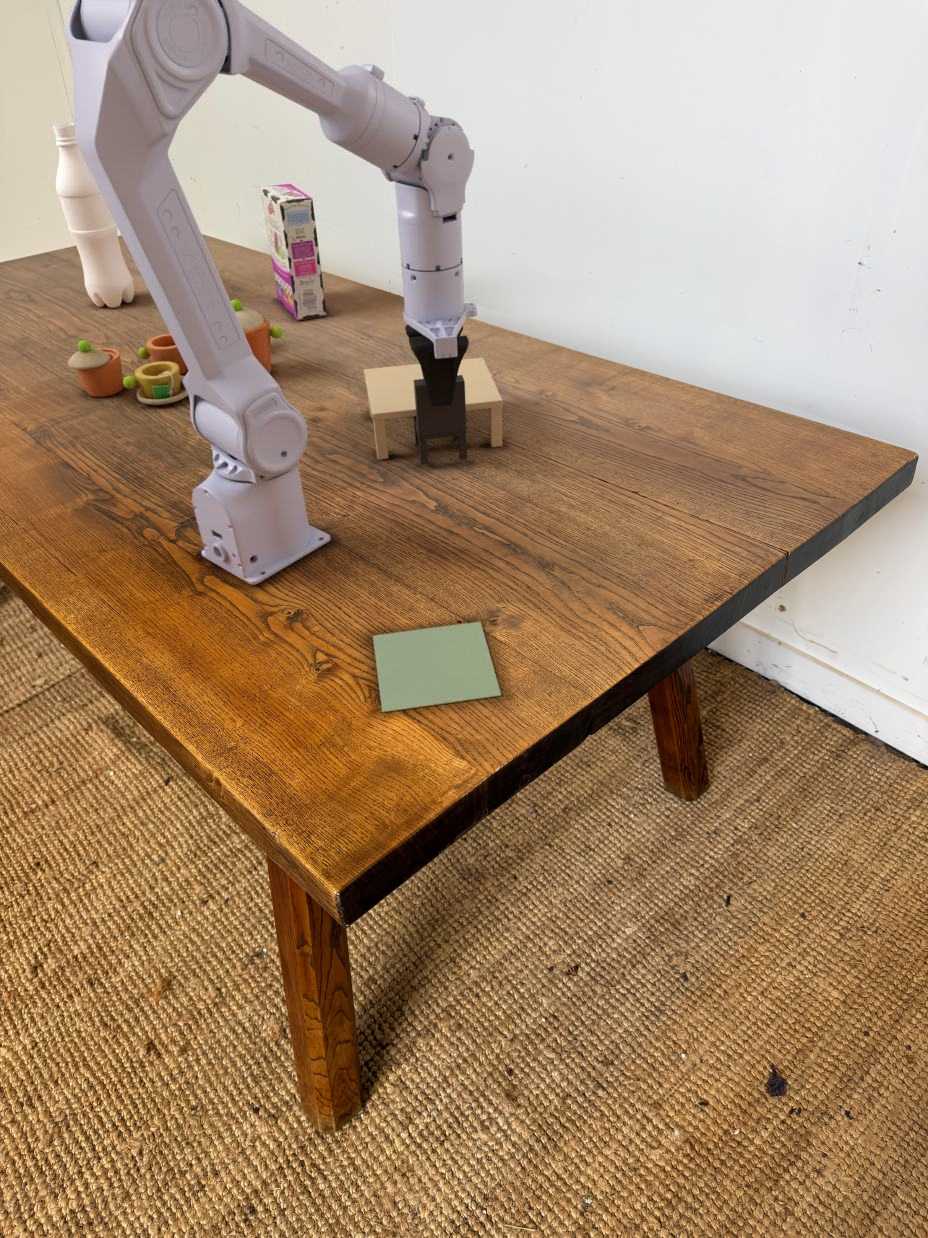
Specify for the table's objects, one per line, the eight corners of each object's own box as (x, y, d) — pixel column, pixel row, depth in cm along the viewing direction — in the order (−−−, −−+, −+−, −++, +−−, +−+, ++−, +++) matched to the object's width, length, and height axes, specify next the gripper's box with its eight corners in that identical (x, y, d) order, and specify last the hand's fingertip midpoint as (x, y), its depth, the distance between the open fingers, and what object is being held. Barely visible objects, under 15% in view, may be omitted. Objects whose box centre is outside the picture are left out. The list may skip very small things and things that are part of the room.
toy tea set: (250, 337, 126) (237, 267, 120) (302, 370, 116) (290, 296, 110) (67, 388, 114) (42, 313, 108) (106, 429, 104) (81, 350, 98)
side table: (503, 446, 97) (502, 399, 94) (377, 460, 96) (371, 413, 92) (484, 400, 106) (483, 356, 103) (368, 413, 105) (363, 368, 102)
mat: (501, 696, 66) (501, 695, 66) (382, 712, 65) (382, 711, 65) (480, 622, 73) (480, 621, 73) (372, 636, 72) (372, 635, 72)
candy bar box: (329, 315, 131) (313, 197, 121) (297, 321, 130) (278, 202, 120) (307, 294, 139) (291, 181, 129) (277, 299, 138) (257, 185, 128)
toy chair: (467, 461, 94) (464, 380, 88) (421, 466, 93) (415, 385, 88) (460, 438, 98) (456, 360, 92) (415, 443, 97) (409, 364, 92)
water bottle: (81, 308, 138) (26, 129, 122) (108, 293, 143) (58, 119, 128) (121, 311, 136) (69, 129, 121) (146, 296, 142) (100, 119, 126)
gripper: (488, 282, 76) (491, 426, 85) (462, 236, 87) (467, 367, 96) (407, 290, 75) (418, 434, 84) (391, 242, 87) (402, 374, 95)
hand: (440, 399), depth 90 cm, fingers closed on toy chair
